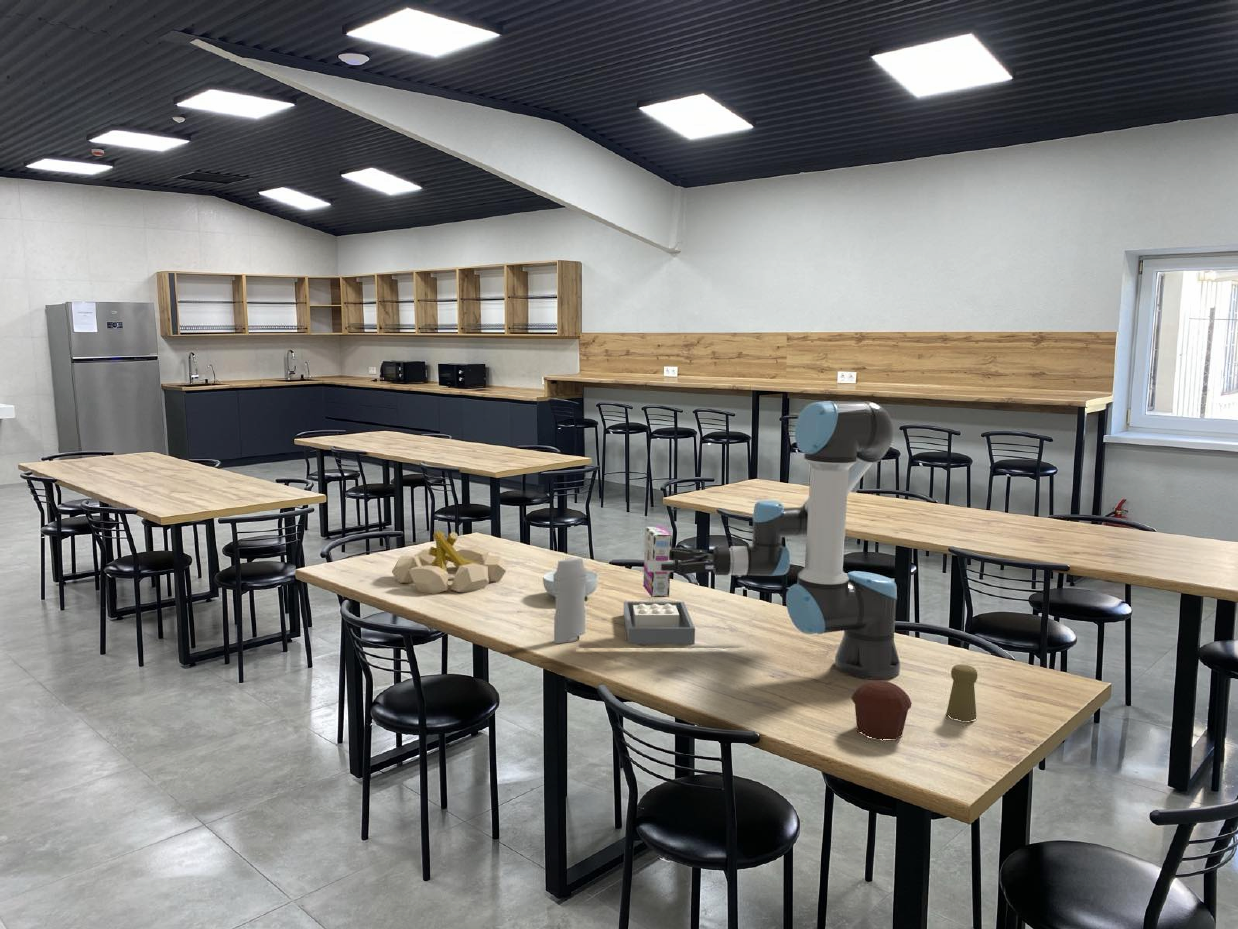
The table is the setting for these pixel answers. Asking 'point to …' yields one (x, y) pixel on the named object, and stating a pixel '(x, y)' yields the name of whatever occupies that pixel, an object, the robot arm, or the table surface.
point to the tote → (659, 634)
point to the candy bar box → (657, 551)
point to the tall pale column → (569, 600)
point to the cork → (962, 693)
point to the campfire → (433, 574)
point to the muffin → (881, 709)
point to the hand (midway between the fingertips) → (645, 560)
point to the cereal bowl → (589, 585)
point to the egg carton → (655, 615)
